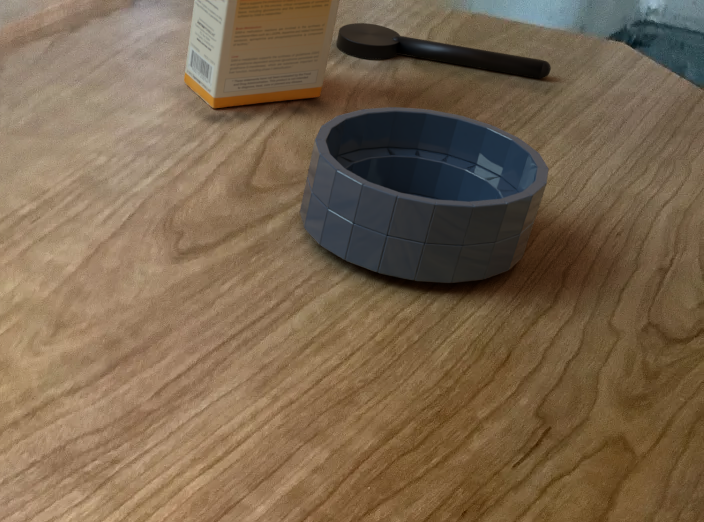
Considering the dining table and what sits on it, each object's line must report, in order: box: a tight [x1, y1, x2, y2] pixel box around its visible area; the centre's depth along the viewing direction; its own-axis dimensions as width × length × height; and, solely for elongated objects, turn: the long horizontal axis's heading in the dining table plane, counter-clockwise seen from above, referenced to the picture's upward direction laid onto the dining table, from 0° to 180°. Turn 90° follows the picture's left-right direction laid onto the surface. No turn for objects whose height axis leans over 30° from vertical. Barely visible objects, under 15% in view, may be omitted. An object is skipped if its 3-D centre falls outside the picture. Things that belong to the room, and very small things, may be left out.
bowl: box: [299, 106, 550, 284], centre depth 76 cm, size 12×12×5 cm
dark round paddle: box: [335, 22, 552, 79], centre depth 99 cm, size 15×4×1 cm, turn 69°
